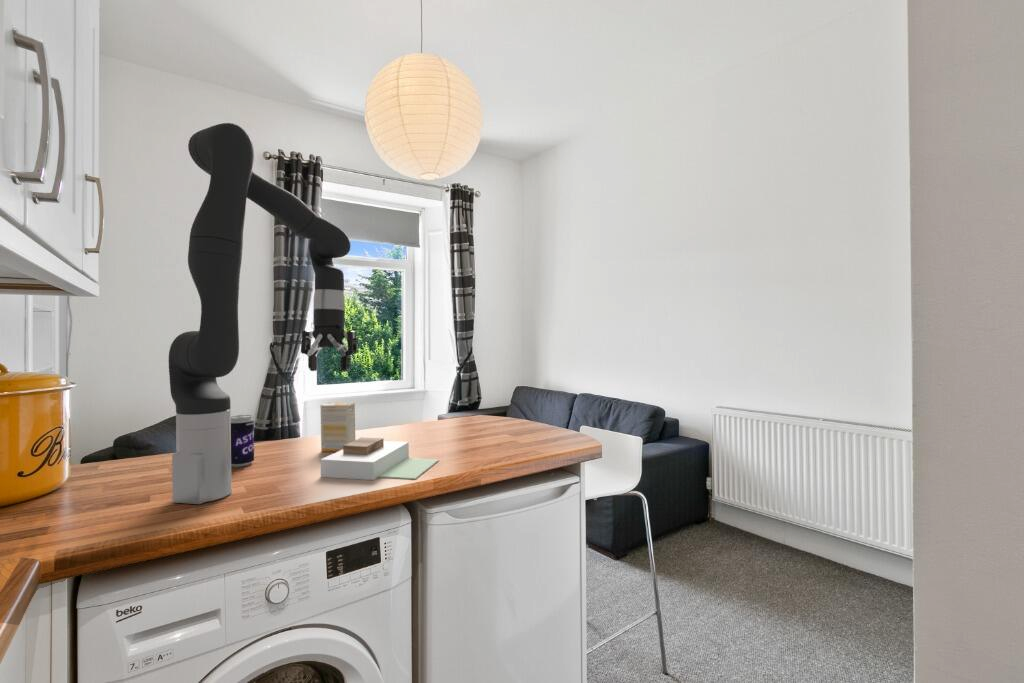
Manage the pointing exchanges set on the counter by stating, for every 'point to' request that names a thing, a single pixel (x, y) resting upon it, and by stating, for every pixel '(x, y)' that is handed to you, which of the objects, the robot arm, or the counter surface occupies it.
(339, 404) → the supplement box
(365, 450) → the brown wooden block
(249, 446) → the beverage can
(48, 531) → the counter surface
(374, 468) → the white flat block
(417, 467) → the mat
